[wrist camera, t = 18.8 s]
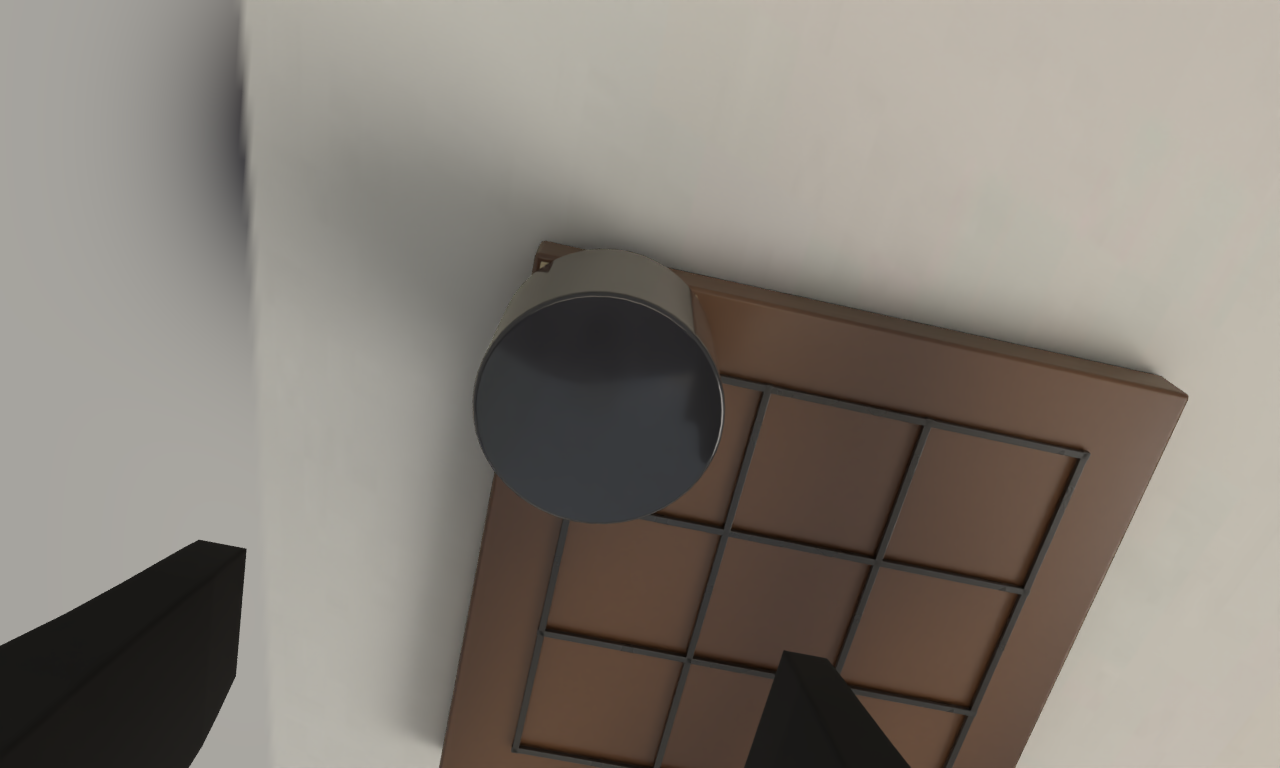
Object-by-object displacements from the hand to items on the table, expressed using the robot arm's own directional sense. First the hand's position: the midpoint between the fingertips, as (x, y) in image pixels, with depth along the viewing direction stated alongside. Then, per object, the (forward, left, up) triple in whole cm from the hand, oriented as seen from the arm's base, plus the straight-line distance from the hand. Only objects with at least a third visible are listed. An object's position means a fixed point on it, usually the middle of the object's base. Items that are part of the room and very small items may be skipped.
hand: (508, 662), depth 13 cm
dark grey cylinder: (+1, +2, -8) cm, 8 cm away
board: (+6, -4, -9) cm, 12 cm away
